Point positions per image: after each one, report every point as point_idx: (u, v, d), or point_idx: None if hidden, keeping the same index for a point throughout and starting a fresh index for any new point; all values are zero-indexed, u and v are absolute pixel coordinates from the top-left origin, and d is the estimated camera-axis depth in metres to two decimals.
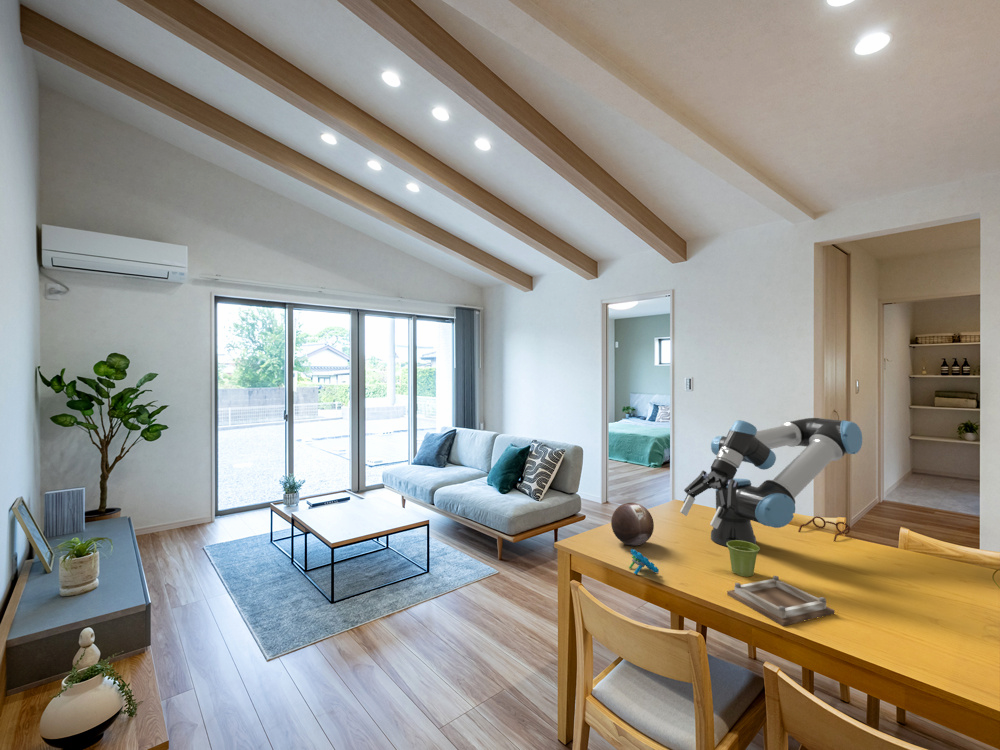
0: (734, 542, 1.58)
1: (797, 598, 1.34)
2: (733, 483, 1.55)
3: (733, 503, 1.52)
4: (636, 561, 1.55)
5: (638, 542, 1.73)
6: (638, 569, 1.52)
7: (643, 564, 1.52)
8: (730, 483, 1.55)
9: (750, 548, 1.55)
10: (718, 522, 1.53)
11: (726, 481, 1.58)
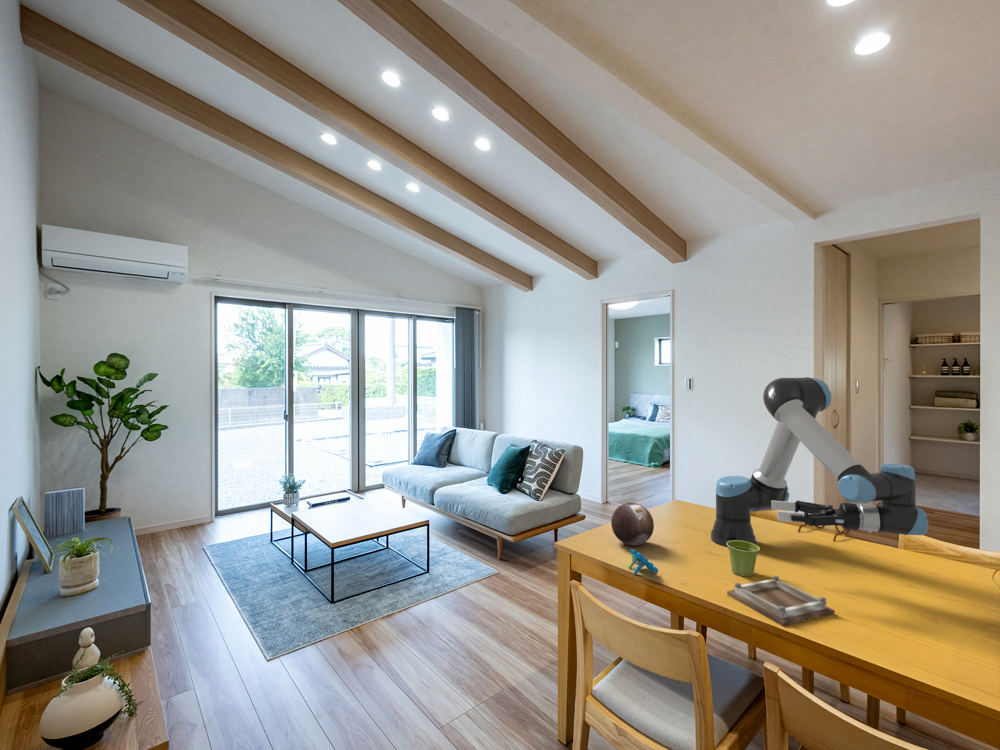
0: (734, 542, 1.58)
1: (797, 598, 1.34)
2: None
3: None
4: (636, 561, 1.55)
5: (638, 542, 1.73)
6: (637, 569, 1.52)
7: (642, 564, 1.52)
8: None
9: (750, 548, 1.55)
10: None
11: None
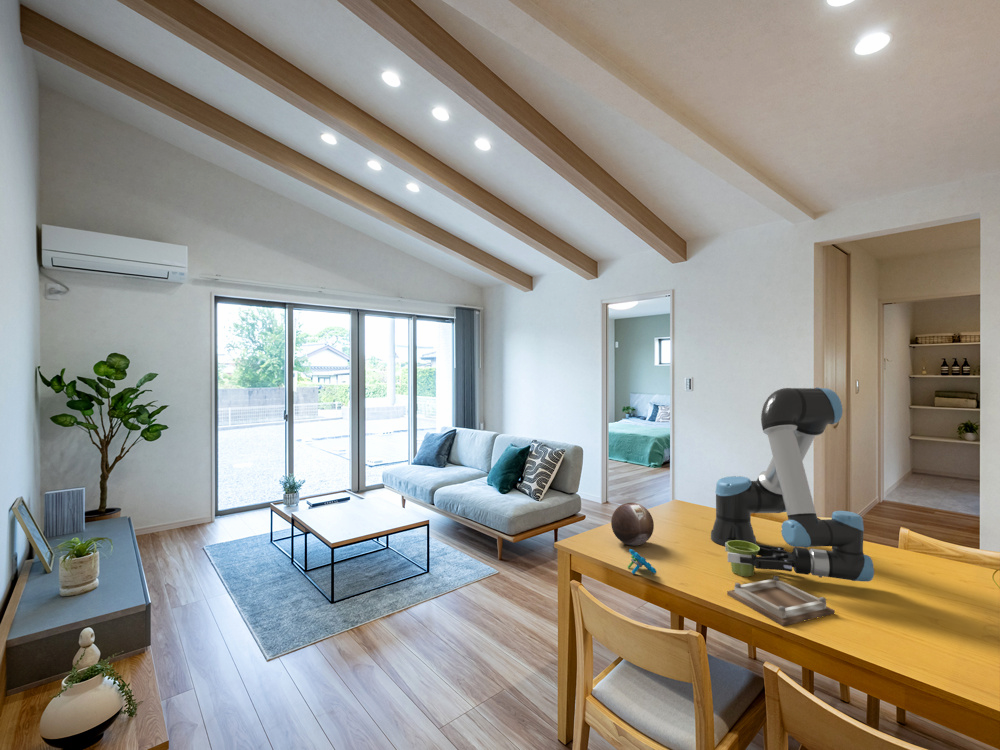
0: (734, 541, 1.58)
1: (797, 598, 1.34)
2: None
3: None
4: (634, 561, 1.55)
5: (638, 542, 1.73)
6: (635, 569, 1.52)
7: (641, 564, 1.52)
8: None
9: (750, 548, 1.55)
10: None
11: None
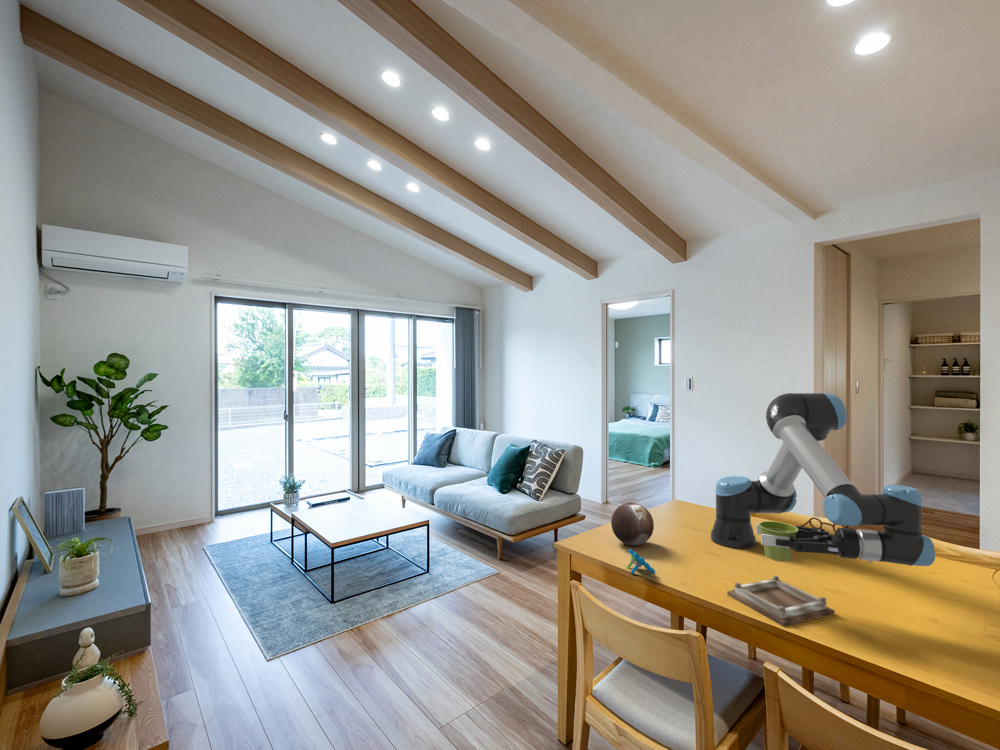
0: (767, 523, 1.38)
1: (797, 598, 1.34)
2: None
3: None
4: (633, 561, 1.55)
5: (638, 542, 1.73)
6: (634, 569, 1.52)
7: (640, 564, 1.52)
8: None
9: (786, 530, 1.35)
10: None
11: None
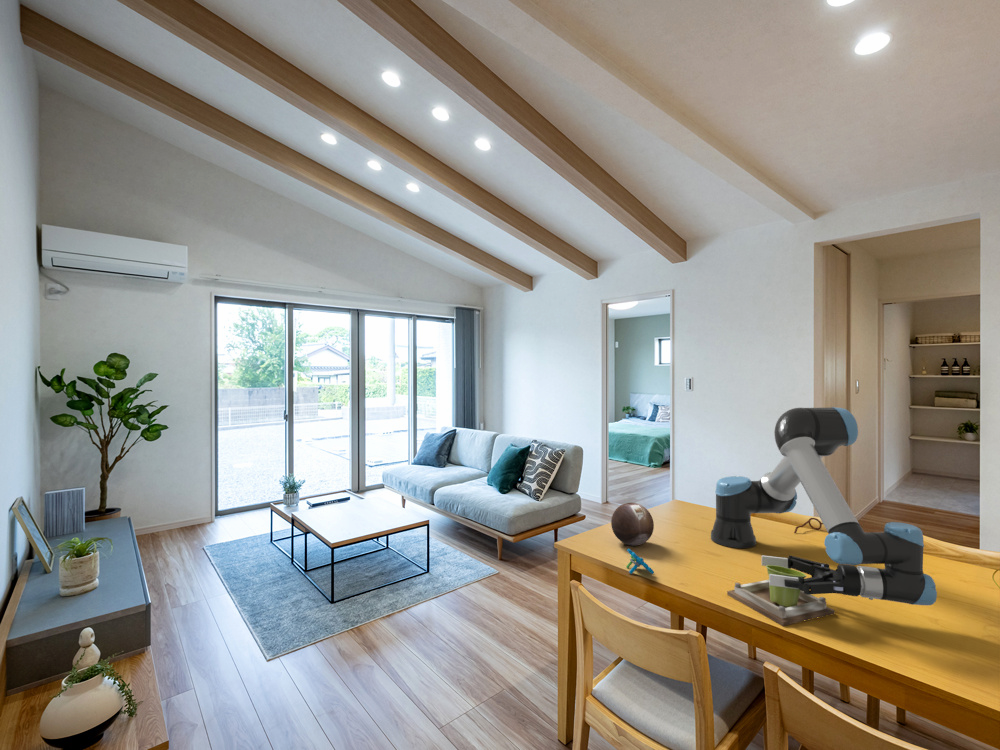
0: (773, 567, 1.35)
1: None
2: None
3: None
4: (632, 561, 1.55)
5: (638, 542, 1.73)
6: (633, 569, 1.53)
7: (638, 564, 1.53)
8: None
9: None
10: None
11: None
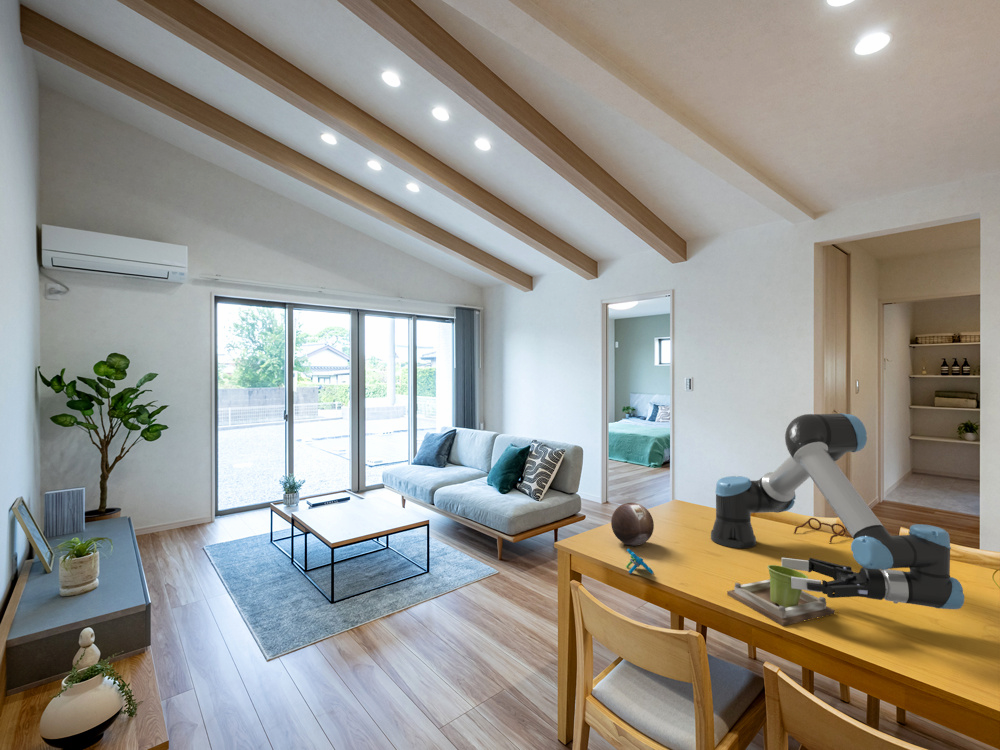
0: (775, 567, 1.35)
1: None
2: None
3: None
4: (632, 561, 1.55)
5: (638, 542, 1.73)
6: (632, 568, 1.53)
7: (638, 564, 1.53)
8: None
9: None
10: None
11: None
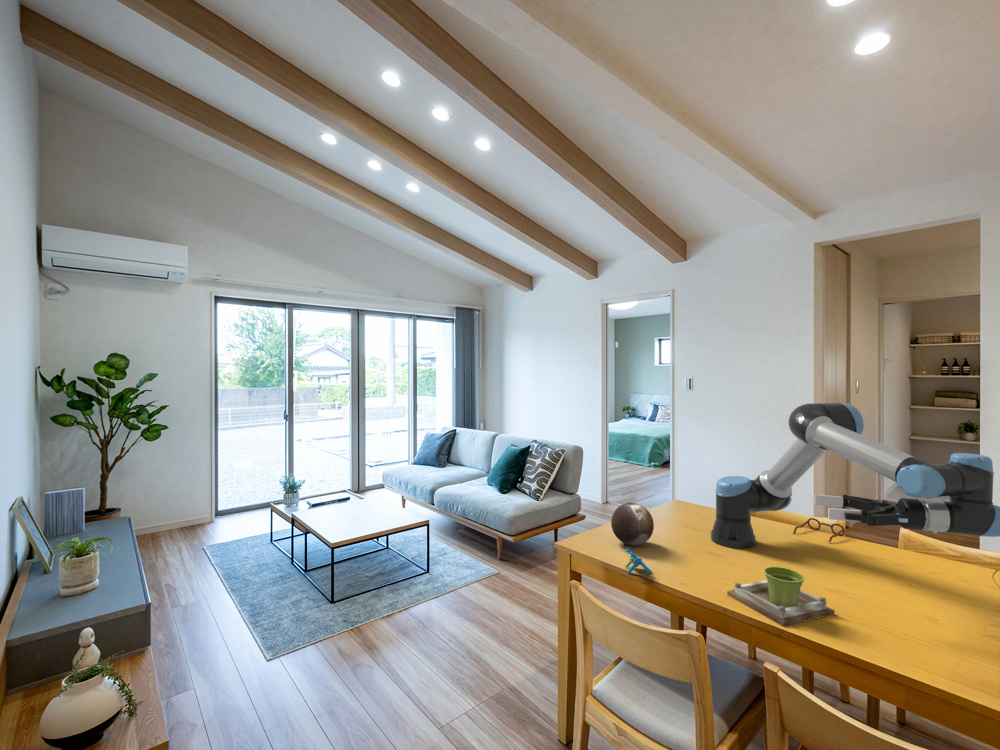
0: (771, 568, 1.34)
1: None
2: None
3: None
4: (631, 561, 1.55)
5: (638, 542, 1.73)
6: (631, 568, 1.53)
7: (637, 564, 1.53)
8: None
9: (791, 576, 1.32)
10: None
11: None
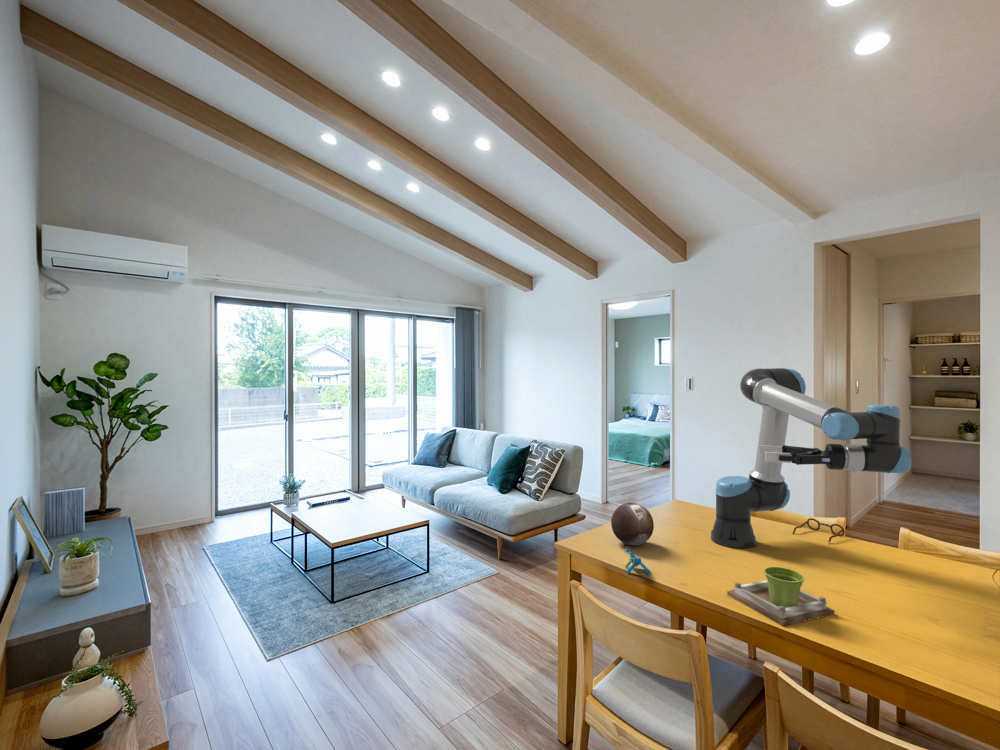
0: (771, 568, 1.34)
1: None
2: None
3: None
4: (631, 560, 1.56)
5: (638, 542, 1.73)
6: (630, 568, 1.53)
7: (636, 564, 1.53)
8: None
9: (791, 576, 1.32)
10: None
11: None
